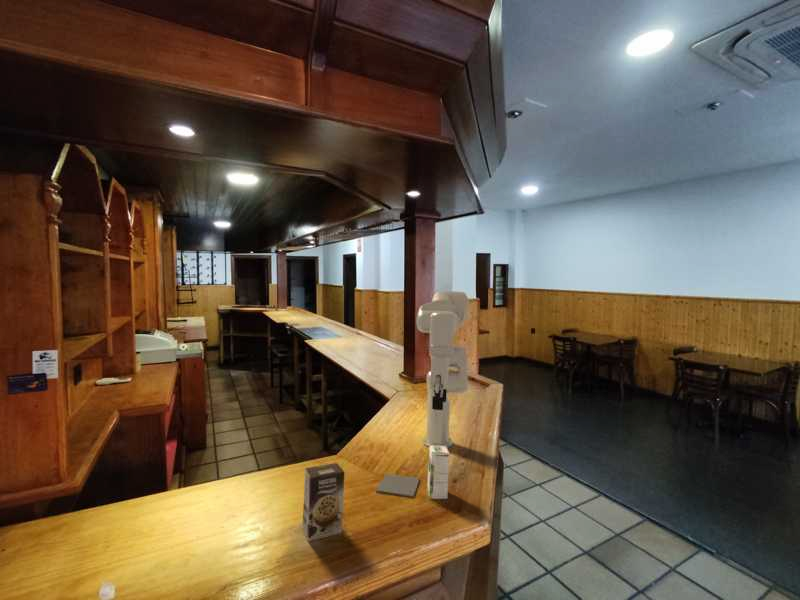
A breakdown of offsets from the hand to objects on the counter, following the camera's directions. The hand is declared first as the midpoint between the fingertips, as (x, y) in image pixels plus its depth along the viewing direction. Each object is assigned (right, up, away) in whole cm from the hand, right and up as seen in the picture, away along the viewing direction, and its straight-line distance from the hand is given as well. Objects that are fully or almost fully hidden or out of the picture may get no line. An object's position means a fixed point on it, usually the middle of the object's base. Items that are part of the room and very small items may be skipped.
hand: (439, 405), depth 119 cm
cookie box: (-33, -27, -20) cm, 47 cm away
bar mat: (-13, -28, +5) cm, 31 cm away
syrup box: (-1, -29, 0) cm, 29 cm away
